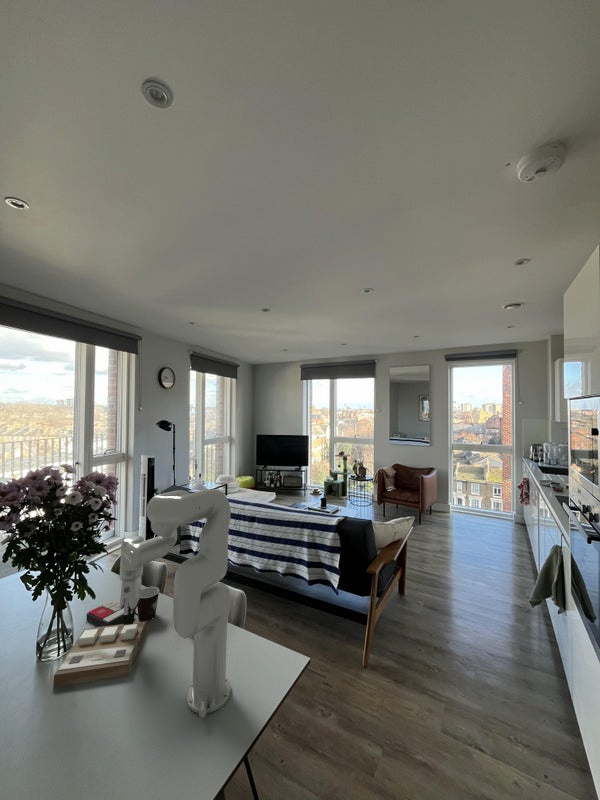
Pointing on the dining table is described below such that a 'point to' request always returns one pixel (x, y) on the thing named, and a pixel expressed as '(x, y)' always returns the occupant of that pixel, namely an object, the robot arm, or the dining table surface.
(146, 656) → the dining table surface
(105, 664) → the board
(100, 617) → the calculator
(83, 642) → the button
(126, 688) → the dining table surface
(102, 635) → the button
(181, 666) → the dining table surface
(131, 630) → the button
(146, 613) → the coffee mug
